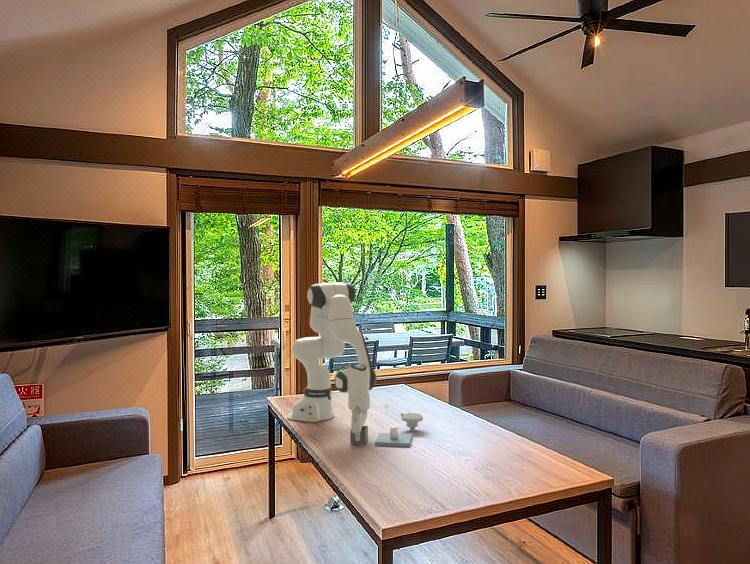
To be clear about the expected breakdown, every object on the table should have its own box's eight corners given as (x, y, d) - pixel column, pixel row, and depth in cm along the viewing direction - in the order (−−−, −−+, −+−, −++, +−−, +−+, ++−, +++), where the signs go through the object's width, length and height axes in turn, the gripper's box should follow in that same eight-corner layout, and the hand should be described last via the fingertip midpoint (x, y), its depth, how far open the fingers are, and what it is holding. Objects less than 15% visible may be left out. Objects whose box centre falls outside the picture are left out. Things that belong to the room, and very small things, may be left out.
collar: (350, 444, 213) (350, 430, 213) (353, 439, 219) (353, 425, 219) (365, 445, 212) (365, 430, 212) (368, 440, 218) (367, 426, 218)
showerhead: (401, 410, 237) (423, 411, 235) (401, 426, 237) (424, 427, 235) (398, 416, 228) (421, 417, 226) (398, 432, 228) (421, 434, 226)
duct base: (375, 445, 212) (374, 430, 211) (379, 436, 224) (379, 422, 223) (409, 447, 210) (409, 432, 209) (412, 437, 221) (411, 423, 221)
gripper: (363, 411, 205) (363, 446, 205) (369, 398, 225) (369, 430, 225) (347, 410, 205) (347, 445, 206) (355, 397, 226) (355, 429, 226)
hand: (359, 437), depth 216 cm, fingers closed on collar, 6 cm apart
